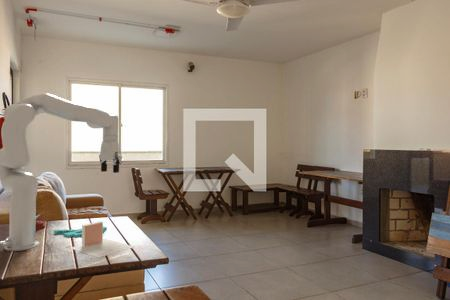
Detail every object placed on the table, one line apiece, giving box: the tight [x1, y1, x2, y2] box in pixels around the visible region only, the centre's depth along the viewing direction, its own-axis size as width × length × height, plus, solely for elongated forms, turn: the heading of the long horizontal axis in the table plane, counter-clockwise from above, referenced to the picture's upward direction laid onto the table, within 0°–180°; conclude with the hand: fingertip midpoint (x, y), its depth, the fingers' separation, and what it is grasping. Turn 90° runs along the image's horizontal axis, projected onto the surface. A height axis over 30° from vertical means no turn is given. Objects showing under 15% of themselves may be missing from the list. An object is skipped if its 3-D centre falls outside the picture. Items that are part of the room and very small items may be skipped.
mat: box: [69, 238, 135, 259], centre depth 146 cm, size 18×20×1 cm
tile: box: [81, 221, 104, 247], centre depth 150 cm, size 9×2×9 cm, turn 145°
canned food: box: [36, 211, 47, 230], centre depth 180 cm, size 11×10×10 cm
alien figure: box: [53, 226, 108, 238], centre depth 171 cm, size 20×2×20 cm
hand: (109, 172), depth 180 cm, fingers open, 9 cm apart
